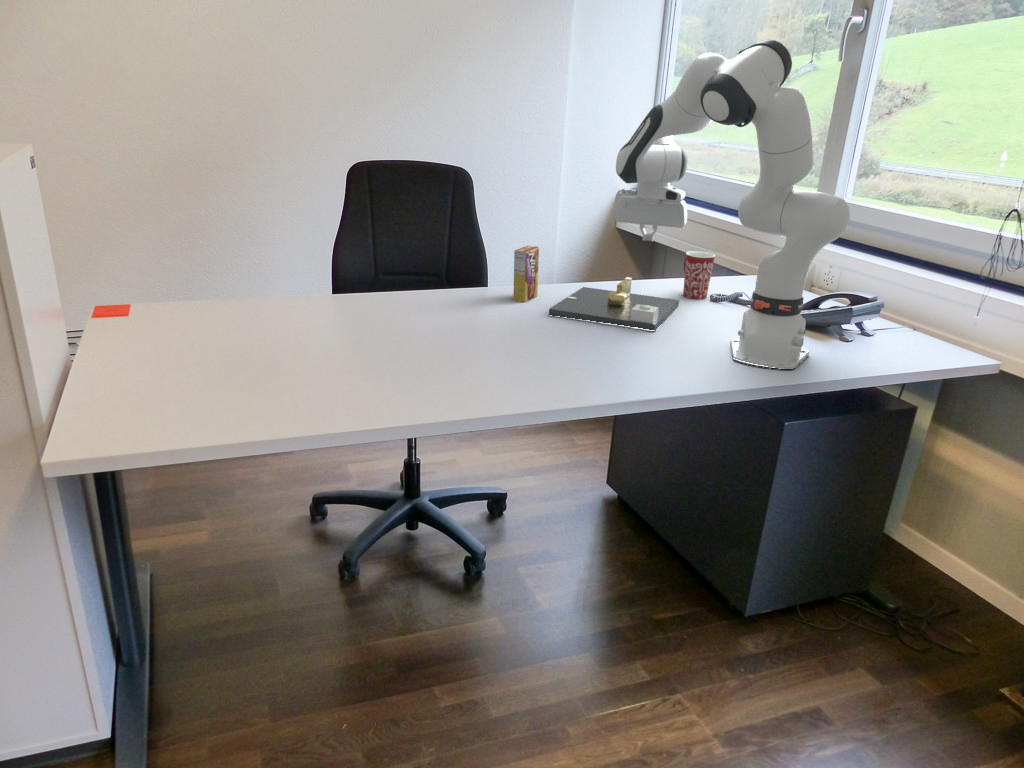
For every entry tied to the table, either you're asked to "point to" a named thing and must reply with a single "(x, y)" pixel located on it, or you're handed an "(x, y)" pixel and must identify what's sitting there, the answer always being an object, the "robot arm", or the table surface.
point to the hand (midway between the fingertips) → (648, 240)
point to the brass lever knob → (620, 293)
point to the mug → (697, 274)
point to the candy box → (526, 273)
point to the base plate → (615, 309)
